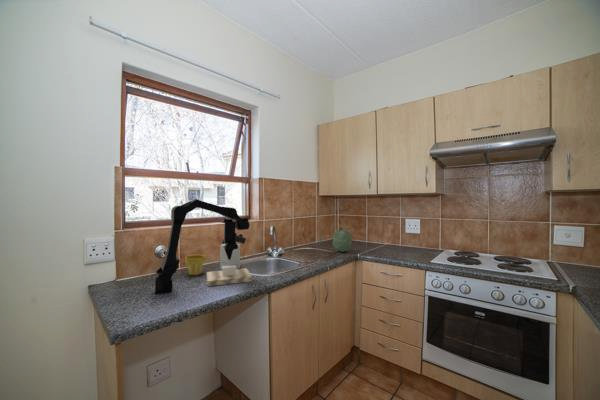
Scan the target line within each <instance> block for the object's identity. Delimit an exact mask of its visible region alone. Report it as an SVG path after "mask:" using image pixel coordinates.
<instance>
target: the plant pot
mask: <svg viewBox="0 0 600 400" xmlns="http://www.w3.org/2000/svg"><path fill="white" fill-rule="evenodd" d="M184 261H185V264H186V268H187V272H188V275H189V276H198V275H201V273H202V271H203V267H204V263H205V262H206V256H205V254H204V255H203V254H192V255H191V254H190V255H188V256H185V259H184Z"/></svg>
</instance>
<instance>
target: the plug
mask: <svg viewBox="0 0 600 400" xmlns="http://www.w3.org/2000/svg"><path fill="white" fill-rule="evenodd" d="M221 271H222V276H229V275H236V266H235V265H231V266H222V269H221Z"/></svg>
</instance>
